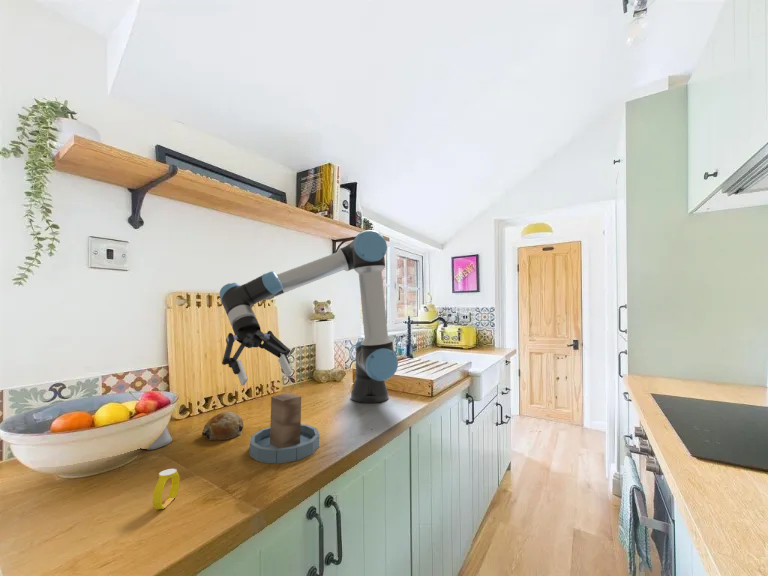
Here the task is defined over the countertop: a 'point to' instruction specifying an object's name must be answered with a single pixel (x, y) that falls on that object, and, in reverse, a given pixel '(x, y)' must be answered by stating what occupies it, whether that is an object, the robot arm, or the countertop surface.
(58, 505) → the countertop surface
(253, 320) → the robot arm
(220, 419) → the bread roll
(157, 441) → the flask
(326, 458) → the countertop surface
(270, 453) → the dish
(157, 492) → the watch
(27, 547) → the countertop surface
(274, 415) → the box
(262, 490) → the countertop surface
